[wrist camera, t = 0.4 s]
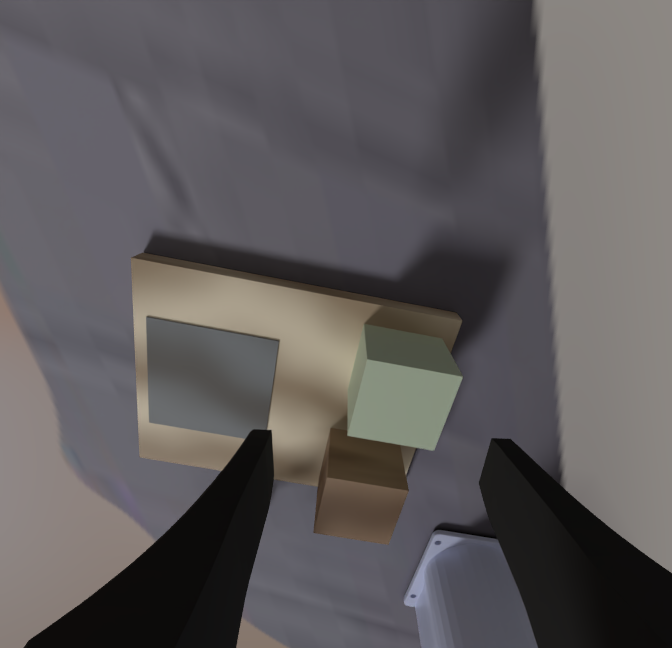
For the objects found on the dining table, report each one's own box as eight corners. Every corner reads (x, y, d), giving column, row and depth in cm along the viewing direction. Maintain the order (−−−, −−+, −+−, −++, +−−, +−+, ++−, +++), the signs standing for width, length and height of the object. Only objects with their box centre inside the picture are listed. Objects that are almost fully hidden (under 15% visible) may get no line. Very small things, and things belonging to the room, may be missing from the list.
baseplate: (395, 485, 26) (397, 500, 25) (148, 444, 26) (138, 458, 24) (456, 312, 21) (463, 321, 20) (142, 252, 20) (130, 258, 19)
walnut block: (382, 489, 25) (388, 544, 21) (318, 478, 25) (313, 532, 21) (399, 439, 23) (408, 490, 20) (330, 427, 23) (327, 477, 19)
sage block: (419, 403, 22) (434, 450, 18) (347, 390, 22) (347, 435, 18) (442, 338, 20) (463, 376, 17) (363, 323, 20) (367, 359, 16)
